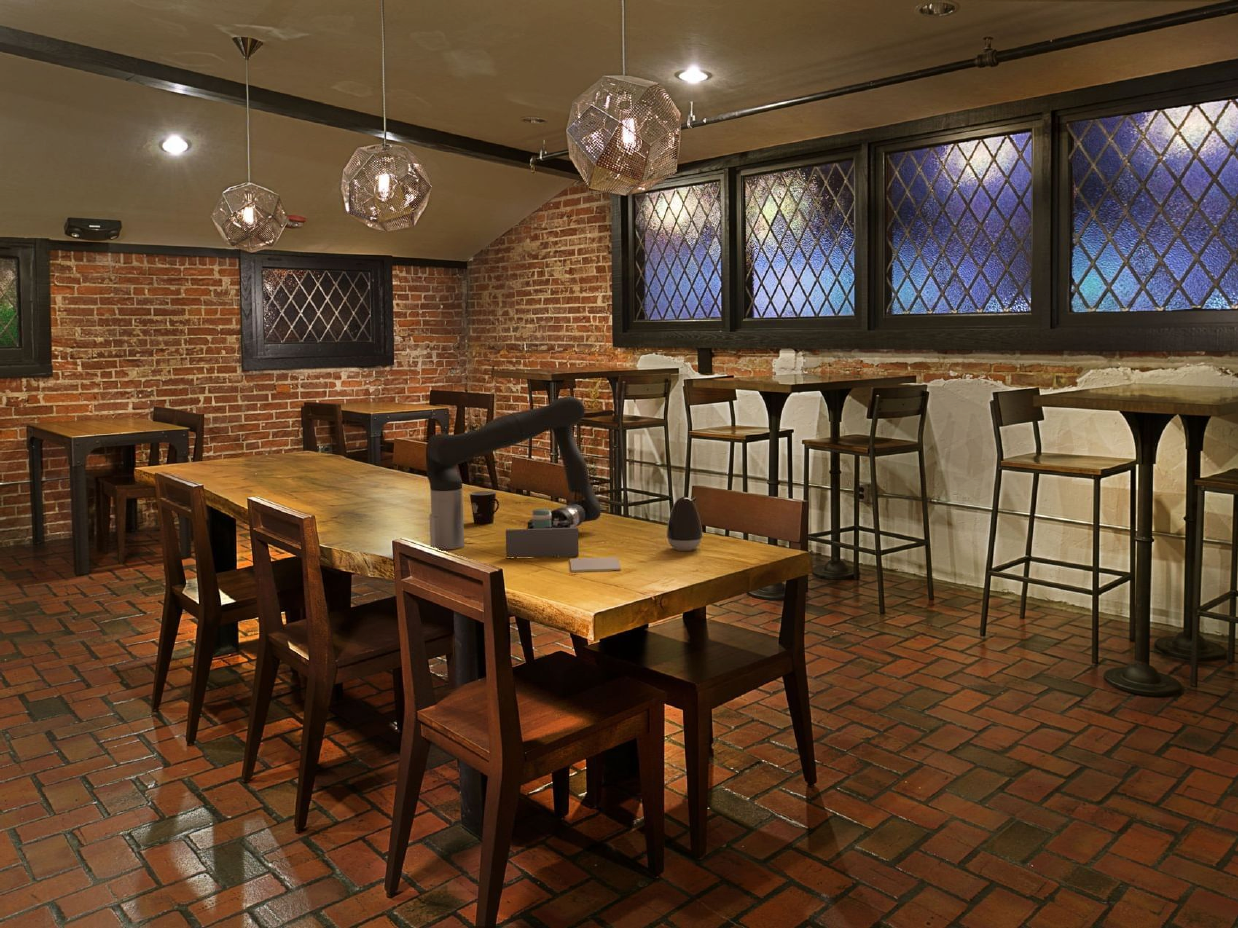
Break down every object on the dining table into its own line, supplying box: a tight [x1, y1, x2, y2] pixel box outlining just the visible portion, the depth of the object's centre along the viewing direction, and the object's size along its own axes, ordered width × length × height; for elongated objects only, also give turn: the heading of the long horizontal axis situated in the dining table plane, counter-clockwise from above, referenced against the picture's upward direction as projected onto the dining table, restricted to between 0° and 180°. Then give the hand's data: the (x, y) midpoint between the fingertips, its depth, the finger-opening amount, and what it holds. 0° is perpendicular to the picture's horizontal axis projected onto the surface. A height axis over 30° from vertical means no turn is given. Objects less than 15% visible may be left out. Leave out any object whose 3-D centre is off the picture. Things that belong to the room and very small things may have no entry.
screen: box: [505, 527, 580, 558], centre depth 276 cm, size 20×2×8 cm, turn 94°
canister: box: [531, 508, 552, 529], centre depth 283 cm, size 5×5×12 cm
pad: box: [569, 557, 622, 573], centre depth 266 cm, size 13×13×1 cm
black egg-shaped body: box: [666, 496, 703, 552], centre depth 284 cm, size 10×10×15 cm
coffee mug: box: [469, 490, 500, 526], centre depth 327 cm, size 12×9×10 cm
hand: (538, 530), depth 280 cm, fingers closed on canister, 5 cm apart
